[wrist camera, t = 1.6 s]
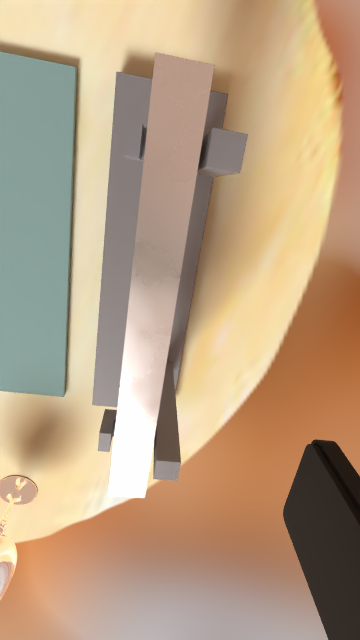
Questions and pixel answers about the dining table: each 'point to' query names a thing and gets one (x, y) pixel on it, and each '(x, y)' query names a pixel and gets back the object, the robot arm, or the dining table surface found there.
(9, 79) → the teal mat
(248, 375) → the dining table surface
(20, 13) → the dining table surface
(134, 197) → the rail stand
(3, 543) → the wineglass
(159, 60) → the steel rail
